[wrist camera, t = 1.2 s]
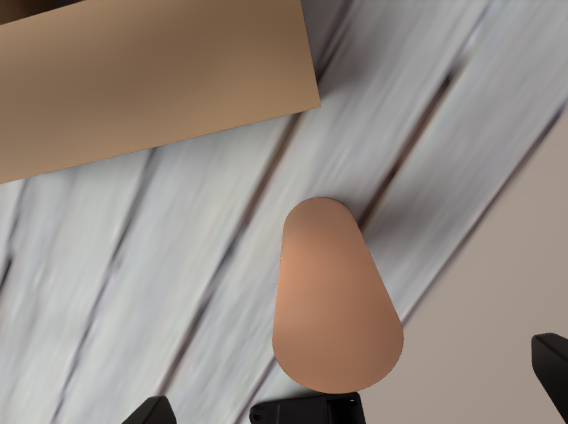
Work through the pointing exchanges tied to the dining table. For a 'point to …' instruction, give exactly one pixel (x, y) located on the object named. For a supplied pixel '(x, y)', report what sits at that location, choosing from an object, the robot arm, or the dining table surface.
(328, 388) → the peg
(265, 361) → the dining table surface
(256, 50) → the bore block
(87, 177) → the dining table surface
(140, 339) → the dining table surface
